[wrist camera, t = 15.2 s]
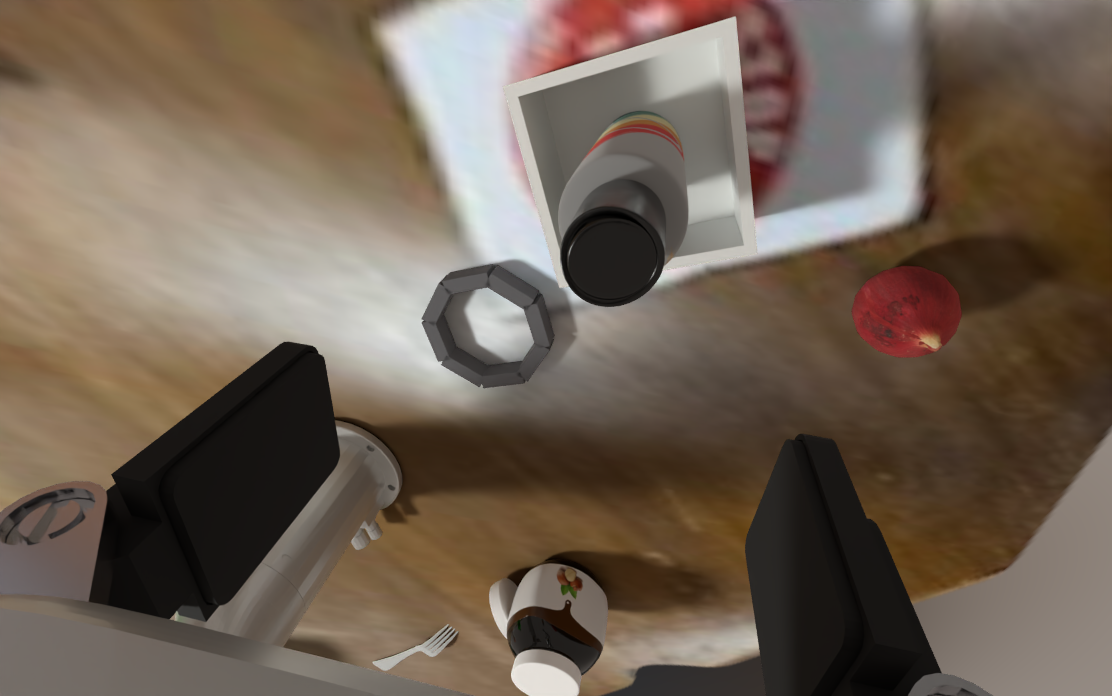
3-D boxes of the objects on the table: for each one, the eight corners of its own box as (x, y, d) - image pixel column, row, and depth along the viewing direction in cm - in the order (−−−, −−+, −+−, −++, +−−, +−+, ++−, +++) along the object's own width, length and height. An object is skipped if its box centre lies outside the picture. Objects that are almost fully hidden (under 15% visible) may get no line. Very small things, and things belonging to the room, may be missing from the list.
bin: (745, 220, 37) (757, 254, 31) (575, 253, 40) (559, 288, 35) (725, 19, 31) (735, 16, 26) (530, 78, 35) (502, 86, 29)
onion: (833, 323, 39) (865, 383, 33) (848, 249, 36) (886, 299, 30) (921, 325, 38) (973, 387, 31) (943, 248, 35) (1006, 299, 28)
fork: (378, 645, 83) (368, 663, 81) (448, 619, 71) (439, 639, 69) (392, 654, 83) (383, 672, 81) (464, 630, 71) (455, 651, 69)
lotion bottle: (630, 90, 34) (588, 144, 17) (701, 143, 34) (729, 246, 17) (581, 166, 36) (502, 279, 20) (647, 213, 37) (627, 360, 20)
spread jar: (621, 585, 60) (609, 694, 50) (567, 625, 66) (548, 729, 56) (532, 533, 58) (502, 634, 48) (486, 578, 64) (451, 677, 54)
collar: (563, 367, 46) (560, 379, 44) (458, 380, 49) (451, 391, 48) (530, 257, 41) (525, 265, 40) (416, 279, 44) (406, 287, 43)
